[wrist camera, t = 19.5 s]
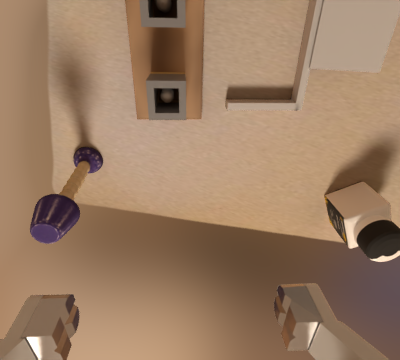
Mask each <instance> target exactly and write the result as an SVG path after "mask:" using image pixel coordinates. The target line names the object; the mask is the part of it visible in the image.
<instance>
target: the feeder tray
mask: <svg viewBox="0 0 400 360" xmlns="http://www.w3.org/2000/svg"><path fill="white" fill-rule="evenodd" d="M399 14H400V0H310V1H309V7H308V12H307V17H306V22H305V28H304V33H303V38H302V43H301V49H300V54H299V59H298V65H297V70H296V75H295V80H294V86H293V91H292V96H291V100H249V99H226V103H225V107H226V109H227V110H302V106H303V101H304V97H305V92H306V87H307V83H308V78H309V73H310V69H321V70H339V71H357V72H374V73H380V70H381V67H382V64H383V61H384V58H385V56H386V53H387V50H388V47H389V44H390V41H391V38H392V35H393V32H394V29H395V26H396V23H397V20H398V17H399Z"/></svg>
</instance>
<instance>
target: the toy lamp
mask: <svg viewBox="0 0 400 360" xmlns="http://www.w3.org/2000/svg"><path fill="white" fill-rule="evenodd" d="M74 164H75V166H76V167H77V168H76V169H75V170H74V173H72V175H71V177H70V179H69V180H68V181H67V184H66V185H65V186H64V187H63V190H62V192H60V194H50V195H47V196H44V197H42V198H41V199H40V200H39V201H38V202H37V204H36V206H35V210H34V214H33V218H32V222H31V227H30V232H31V235H32V237H33V238H34V239H36V240H37V241H39V242H42V243H54V242H56V241H58V240H59V239H61V238H62V237H63V236H64V235H65V234H66V233H67V232H68V231H69V230H70V229H71V228H72V227H73V226H74V225H75V224H76V222H77V221H78V219H79V217H80V210H79V207H78V205H77V204H76V203H75V202H74V201H73V200H74V197H75V196H76V195H77V193H78V190H79V189H80V188H81V185H82V183H83V182H84V179H85V177H86V176H87V173H94V172H96V171H98V170H99V169H100V168H101V167H102V164H103V159H102V156H101V155H100V153H99V152H97V151H96V150H95V149H93V148H89V147H83V148H80V149H78V150H77V151H76V153H75V154H74Z"/></svg>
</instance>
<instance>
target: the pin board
mask: <svg viewBox="0 0 400 360" xmlns="http://www.w3.org/2000/svg"><path fill="white" fill-rule="evenodd" d="M125 4H126V13H127V23H128V33H129V43H130V52H131V62H132V72H133V82H134V91H135V101H136V111H137V119H149V115H148V103H147V90H146V79H147V78H148V76H149V75H150V73H151V72H180V73H185V76H186V119H201V115H202V71H203V26H204V0H185V11H186V28H173V27H141V16H140V3H139V0H125ZM153 9H154V18H177V0H153ZM158 94H159V101H163V102H165V103H170V102H171V101H179V88H158Z"/></svg>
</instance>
